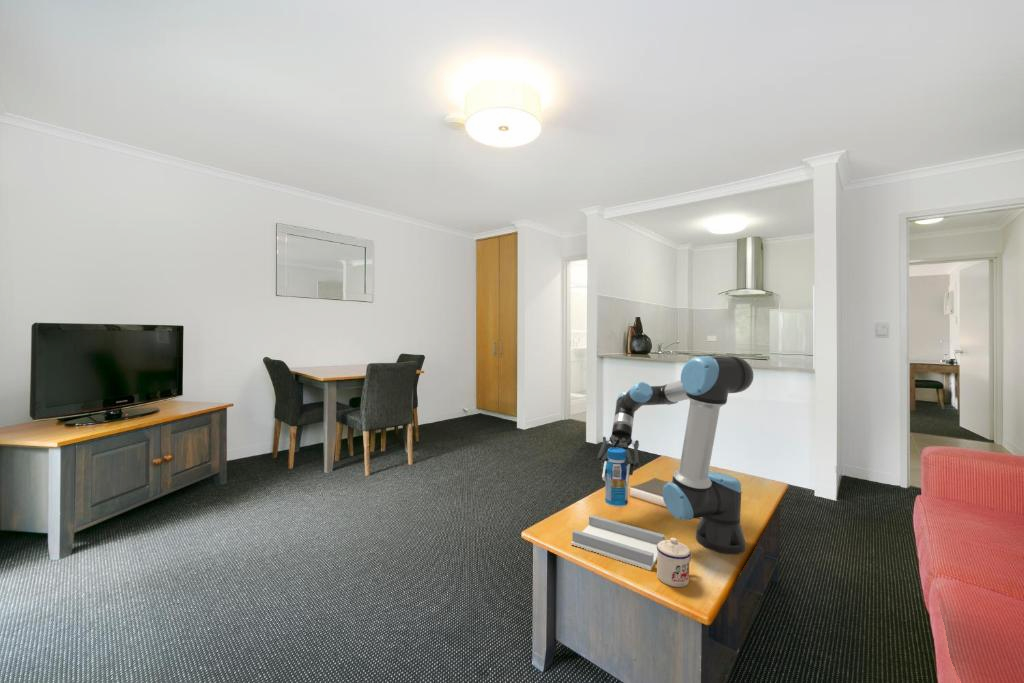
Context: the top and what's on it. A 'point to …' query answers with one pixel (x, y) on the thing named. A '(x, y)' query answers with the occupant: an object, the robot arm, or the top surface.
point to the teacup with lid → (673, 562)
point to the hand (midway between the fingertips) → (615, 480)
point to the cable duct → (619, 541)
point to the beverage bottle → (616, 478)
